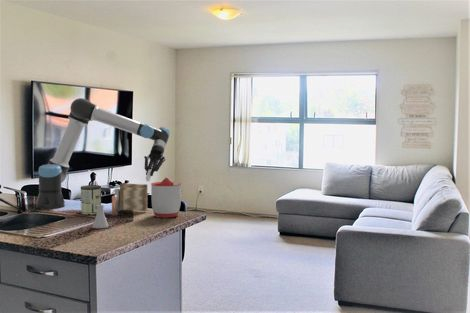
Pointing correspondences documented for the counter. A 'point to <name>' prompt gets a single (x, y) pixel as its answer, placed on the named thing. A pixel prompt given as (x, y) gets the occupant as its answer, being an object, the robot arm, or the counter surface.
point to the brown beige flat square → (133, 197)
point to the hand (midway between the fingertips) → (147, 179)
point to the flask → (100, 218)
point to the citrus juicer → (165, 198)
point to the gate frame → (116, 202)
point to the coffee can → (90, 199)
